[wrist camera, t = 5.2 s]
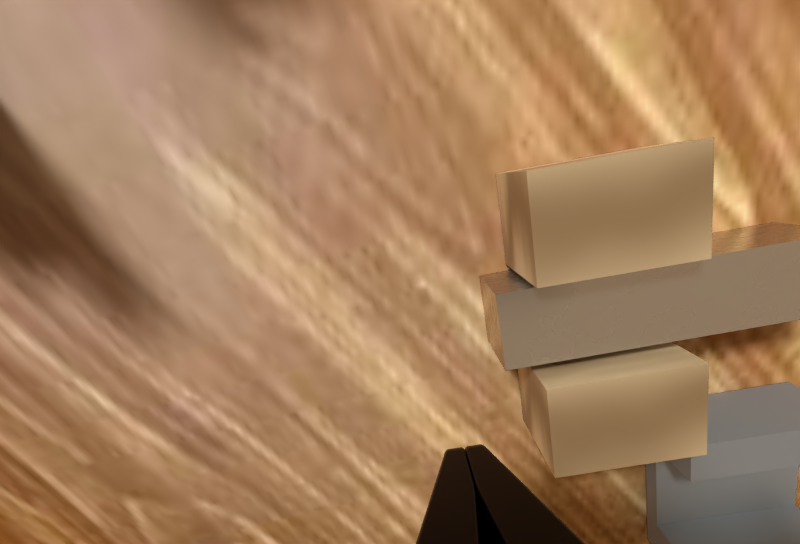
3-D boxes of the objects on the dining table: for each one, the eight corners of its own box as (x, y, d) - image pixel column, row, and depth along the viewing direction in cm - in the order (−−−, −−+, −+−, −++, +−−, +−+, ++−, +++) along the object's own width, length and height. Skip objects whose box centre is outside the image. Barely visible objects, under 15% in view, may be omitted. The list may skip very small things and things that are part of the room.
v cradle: (777, 519, 20) (841, 576, 17) (647, 538, 20) (689, 598, 18) (788, 381, 18) (863, 420, 15) (644, 405, 18) (691, 446, 16)
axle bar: (765, 221, 17) (850, 230, 14) (762, 288, 17) (841, 312, 14) (477, 273, 17) (495, 294, 14) (486, 337, 18) (505, 370, 15)
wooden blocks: (644, 399, 18) (706, 454, 15) (523, 419, 19) (554, 478, 15) (638, 147, 16) (714, 137, 12) (495, 173, 16) (526, 170, 12)
